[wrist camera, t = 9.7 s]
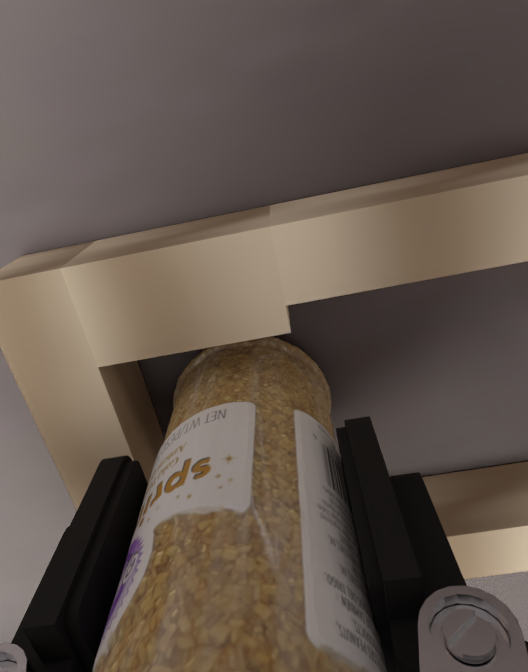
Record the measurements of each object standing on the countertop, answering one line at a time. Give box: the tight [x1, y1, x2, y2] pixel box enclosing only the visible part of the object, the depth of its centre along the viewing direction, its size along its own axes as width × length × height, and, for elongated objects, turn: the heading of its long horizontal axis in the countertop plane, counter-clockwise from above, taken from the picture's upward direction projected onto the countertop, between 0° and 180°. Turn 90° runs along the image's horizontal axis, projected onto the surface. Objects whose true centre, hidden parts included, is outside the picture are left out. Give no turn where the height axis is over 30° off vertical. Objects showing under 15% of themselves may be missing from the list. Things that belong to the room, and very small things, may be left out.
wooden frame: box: [0, 153, 528, 579], centre depth 13 cm, size 16×11×2 cm
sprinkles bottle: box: [92, 336, 387, 672], centre depth 8 cm, size 5×5×13 cm
